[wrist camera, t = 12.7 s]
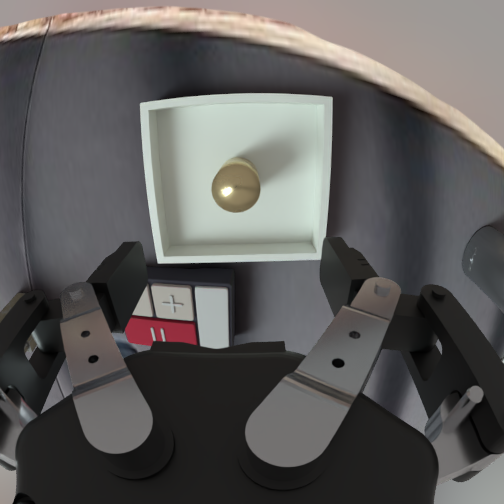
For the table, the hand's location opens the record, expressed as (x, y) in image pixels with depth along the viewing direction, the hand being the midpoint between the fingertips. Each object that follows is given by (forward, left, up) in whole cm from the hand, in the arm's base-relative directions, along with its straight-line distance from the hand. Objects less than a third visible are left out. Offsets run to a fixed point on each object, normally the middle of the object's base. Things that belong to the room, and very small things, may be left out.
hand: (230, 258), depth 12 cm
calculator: (+9, +16, -19) cm, 27 cm away
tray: (0, 0, -19) cm, 19 cm away
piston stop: (0, 0, -18) cm, 18 cm away
